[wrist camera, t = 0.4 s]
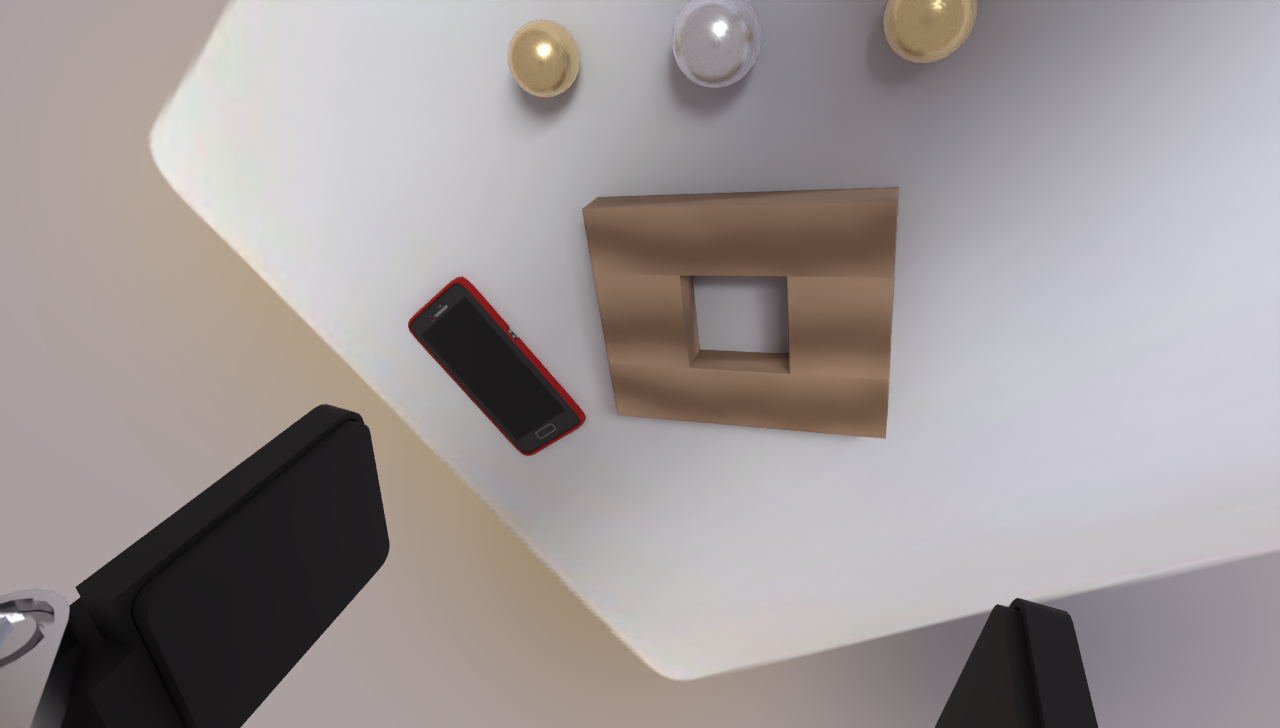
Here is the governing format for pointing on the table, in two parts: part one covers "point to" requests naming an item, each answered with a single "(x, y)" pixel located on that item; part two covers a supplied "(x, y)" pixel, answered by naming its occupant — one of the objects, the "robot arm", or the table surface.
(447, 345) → the cell phone
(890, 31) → the brass ball
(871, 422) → the pocket plate
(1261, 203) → the table surface
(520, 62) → the brass ball
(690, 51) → the steel ball
